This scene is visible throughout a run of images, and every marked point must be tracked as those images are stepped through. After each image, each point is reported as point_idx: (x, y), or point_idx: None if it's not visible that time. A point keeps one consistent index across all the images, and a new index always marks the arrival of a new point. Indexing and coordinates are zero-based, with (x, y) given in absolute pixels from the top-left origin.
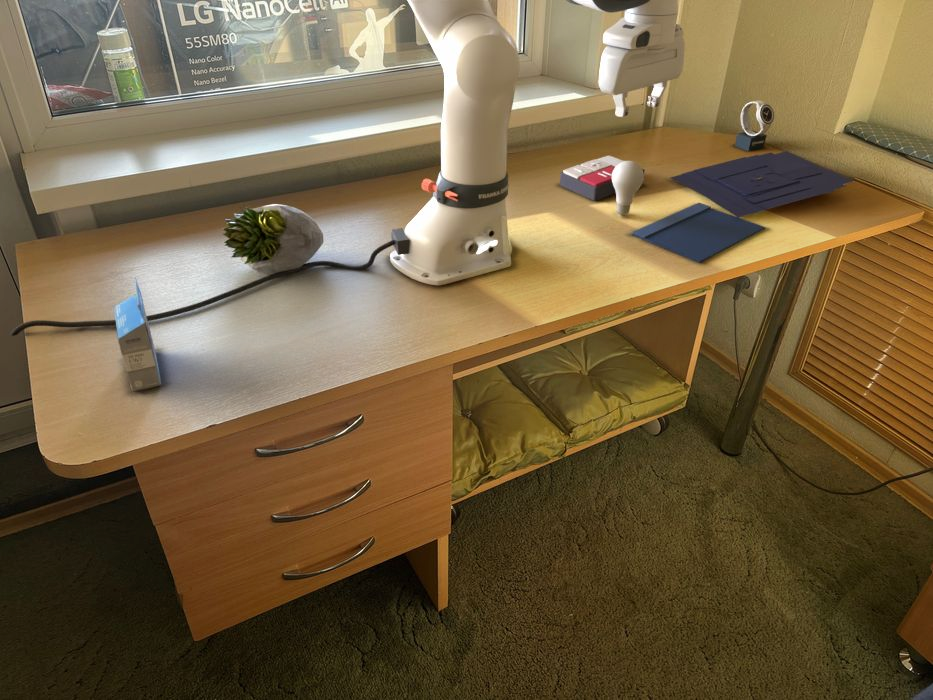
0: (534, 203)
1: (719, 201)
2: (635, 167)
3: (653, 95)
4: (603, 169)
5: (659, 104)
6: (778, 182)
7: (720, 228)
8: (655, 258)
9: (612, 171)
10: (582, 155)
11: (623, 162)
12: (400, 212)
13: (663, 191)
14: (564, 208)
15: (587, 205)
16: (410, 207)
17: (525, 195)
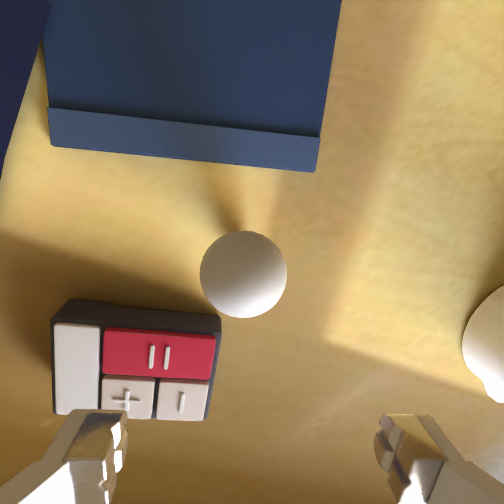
0: (307, 376)
1: (2, 102)
2: (253, 264)
3: (71, 500)
4: (137, 374)
5: (72, 412)
6: None
7: (142, 18)
8: (382, 68)
9: (132, 355)
10: None
11: (255, 305)
12: None
13: (55, 250)
14: (289, 332)
15: None
16: None
17: (288, 405)
